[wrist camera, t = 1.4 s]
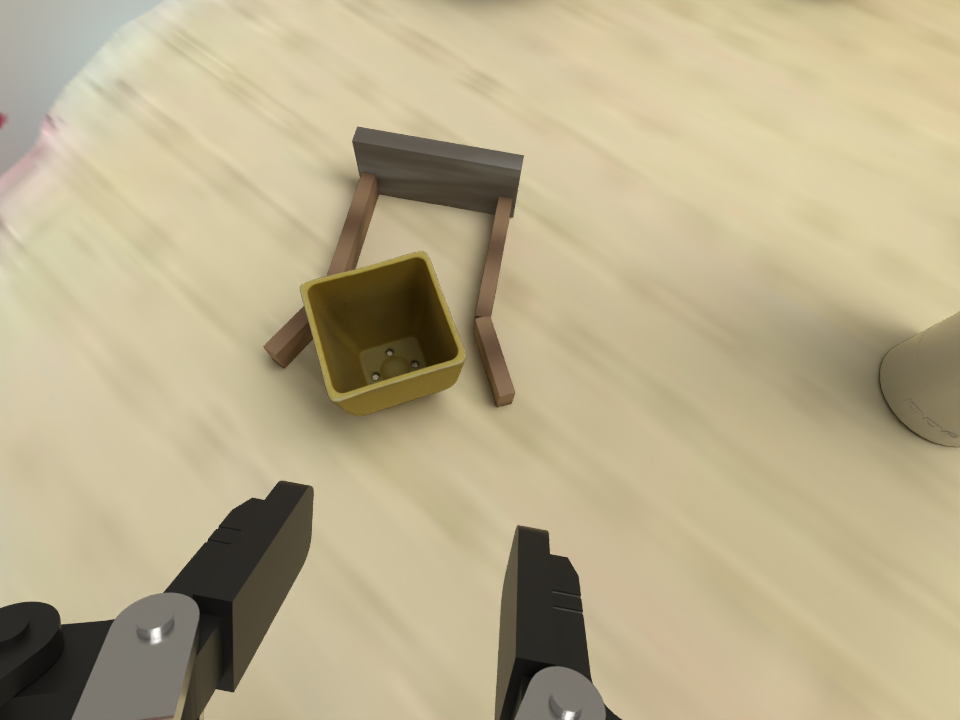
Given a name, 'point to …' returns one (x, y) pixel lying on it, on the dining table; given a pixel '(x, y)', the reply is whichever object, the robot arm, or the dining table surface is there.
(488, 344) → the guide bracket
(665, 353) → the dining table surface
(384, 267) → the flower pot
